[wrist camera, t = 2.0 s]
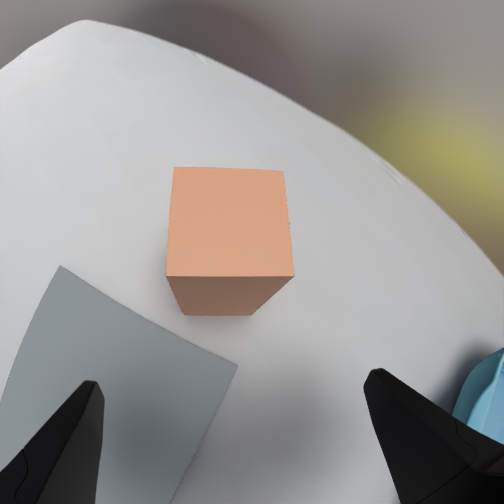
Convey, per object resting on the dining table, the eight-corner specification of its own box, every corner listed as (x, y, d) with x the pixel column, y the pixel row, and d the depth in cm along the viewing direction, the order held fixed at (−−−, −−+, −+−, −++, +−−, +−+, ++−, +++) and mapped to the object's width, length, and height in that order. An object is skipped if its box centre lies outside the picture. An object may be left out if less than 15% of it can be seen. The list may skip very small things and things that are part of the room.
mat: (136, 559, 12) (135, 562, 12) (-11, 462, 12) (-14, 463, 12) (237, 365, 20) (238, 365, 20) (62, 267, 21) (59, 265, 20)
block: (251, 314, 22) (294, 276, 12) (183, 315, 21) (165, 276, 11) (248, 251, 24) (283, 171, 13) (184, 251, 23) (173, 167, 13)
